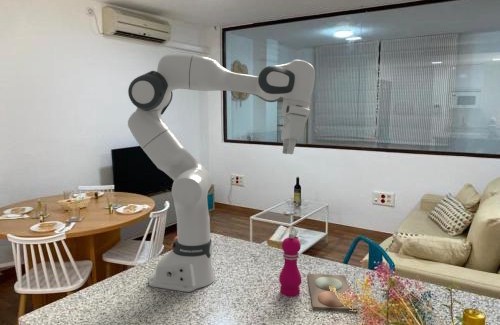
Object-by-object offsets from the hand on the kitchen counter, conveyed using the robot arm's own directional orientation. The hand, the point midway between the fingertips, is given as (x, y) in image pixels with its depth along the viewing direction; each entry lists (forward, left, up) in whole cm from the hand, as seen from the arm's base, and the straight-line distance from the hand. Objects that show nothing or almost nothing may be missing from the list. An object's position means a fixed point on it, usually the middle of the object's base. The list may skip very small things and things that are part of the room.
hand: (287, 153), depth 120 cm
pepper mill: (+2, -6, -45) cm, 45 cm away
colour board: (+15, -5, -45) cm, 47 cm away
